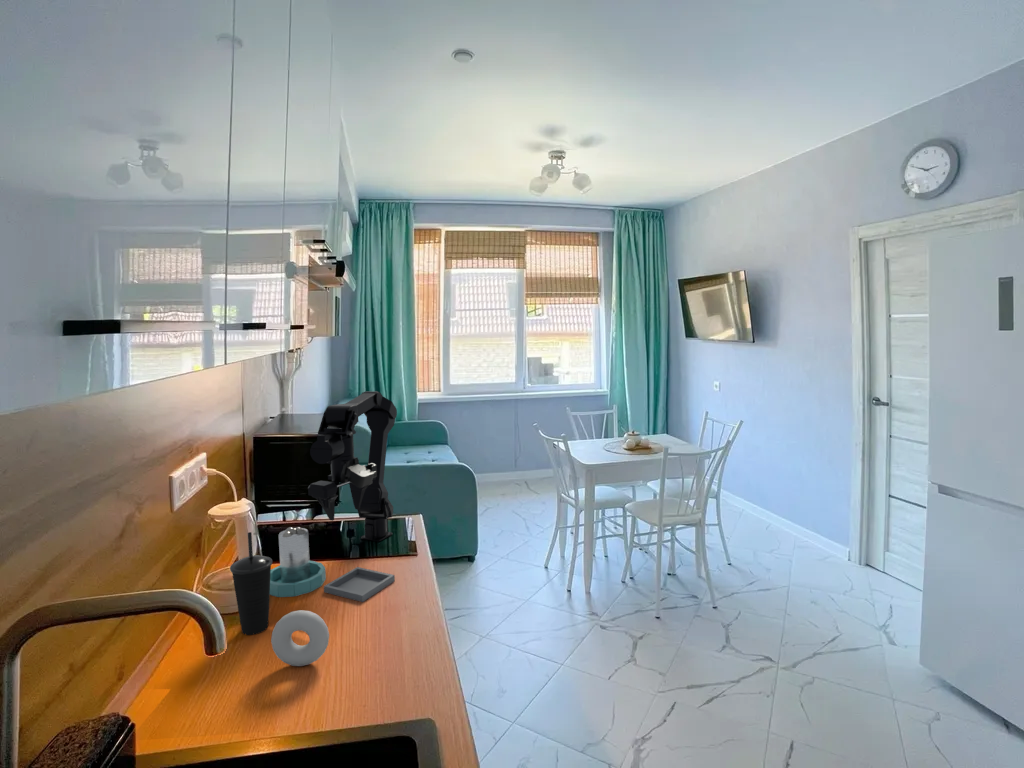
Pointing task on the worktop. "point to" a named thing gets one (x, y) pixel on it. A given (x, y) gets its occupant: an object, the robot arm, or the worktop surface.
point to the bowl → (298, 587)
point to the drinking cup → (252, 590)
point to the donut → (292, 651)
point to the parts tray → (359, 584)
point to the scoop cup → (294, 555)
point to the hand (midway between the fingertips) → (344, 514)
